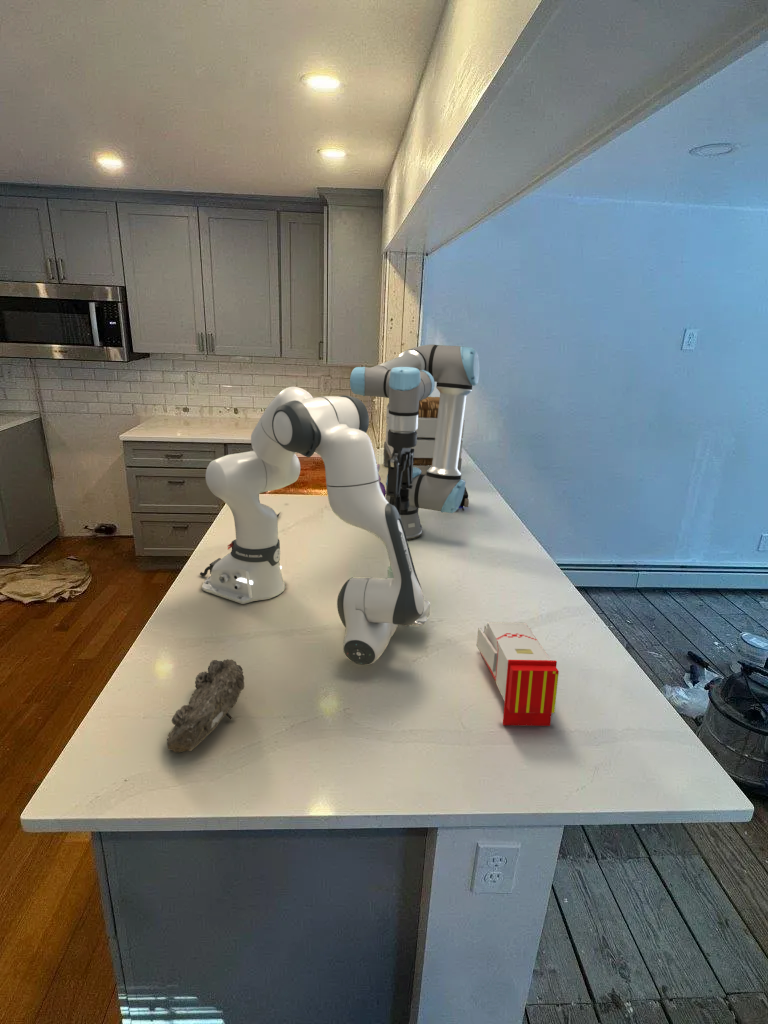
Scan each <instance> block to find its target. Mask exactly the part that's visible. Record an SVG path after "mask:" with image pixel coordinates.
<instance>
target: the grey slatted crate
mask: <svg viewBox="0 0 768 1024" xmlns="http://www.w3.org/2000/svg"><path fill="white" fill-rule="evenodd" d="M439 399H440V396H428V397H427V398H426V399H423V400H421V401H419V409H418V429H417V430H415V431H416V432H417V444H416V446H415V447H412V449H414V457H413V467H417V466H418V467H431V466H432V461H433V452H434V443H435V434H436V426H437V417H438V408H439ZM385 414H386V415H385V423H386V428H385V438H384V442H383V466H384V467H387V468H388V459H392V453H393V447H392V446H389V445H388V443H387V441H388V431H389V430H390V429H389V428H388V419H387V416H388V415H389V402H388V404H387V405H386V413H385ZM464 429H465V419H464V420H463V428H462V436H461V444H460V452H459V460H458V470H459V471H460V473H461V472H462V461H463V460H462V453H463V442H464V441H463V440H462V439H463V438H464V431H465V430H464ZM461 474H462V473H461Z"/></svg>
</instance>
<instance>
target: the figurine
mask: <svg viewBox="0 0 768 1024" xmlns="http://www.w3.org/2000/svg"><path fill="white" fill-rule="evenodd" d="M377 468H378V475H379V484H380V488H381V491H382V493H383V495H384V497H385V498H386V486H385V485H384V484H383V482H382V481H381V480H382V479H381V475H380V473H379V471H380V469H381V465H380V464H379V463H378V464H377Z"/></svg>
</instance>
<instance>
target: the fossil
mask: <svg viewBox="0 0 768 1024" xmlns="http://www.w3.org/2000/svg"><path fill="white" fill-rule="evenodd" d="M243 670H244V669H243V667H242V665H240V664H237V662H236V661H235V660H234V659H232V658H231V659H227V658H226V659H224V660H223V661H222V660H217V659H212V660H211V661H210V663H209V665H208V666H207V671H201V672H199V673H198V674H197V675H196V676H195V680H194V684H195V685H194V687H195V689H194V690H193V693H192V694H191V697H190V698H189V700H188V704H184V705H182V706H181V707H180V709H177V710H176V711H175V713H174V715H173V716H172V718H171V723H172V724H173V727H172V730H171V731H170V732H168V734H167V738H166V741H167V742H166V745H167V749H168V750H169V751H173V752H174V753H176V754H178V753H182V752H188V751H189V752H192V751H193V750H195V748H196V747H197V746H199V744H200V743H201V742H203V741H204V740H205V739H206V738H207V737H208V736H209V735H210V734H211V733H212V732H214V730H215V729H217V727H218V726H219V724H220V722H221V721H222V720H223V719H224V718H225V716H226V717H227V719H229V720H233V717H232V715H230V714H229V710H230V709H231V708H234V706H235V704H236V703H237V702H238V699H239V697H240V695H241V693H242V691H243V690H245V689H244V688H245V675H244V671H243Z"/></svg>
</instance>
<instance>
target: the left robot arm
mask: <svg viewBox="0 0 768 1024" xmlns="http://www.w3.org/2000/svg"><path fill="white" fill-rule="evenodd" d="M369 425H370V417H369V411H368V409H367V406H366V404H365V403H364V402H363V401H362V400H360V399H359V398H358V397H356V396H355V397H354V396H351V395H346V394H345V395H338V396H336V395H325V396H324V395H323V396H316V397H313V395H312V394H311V393H310V392H309V391H308V390H306V389H304V388H302V387H298V386H289V387H285V388H283V389H282V390H281V391H280V392H279V393H278V394H276V395H275V397H274V398H273V399H272V400H271V401H270V403H269V404H268V406H267V407H266V408H265V410H264V412H262V415H261V416H260V417H259V419H258V421H257V423H256V425H255V427H254V428H253V430H252V432H251V435H250V444H251V448H252V450H250V451H244V452H237V453H231V454H226V455H223V456H221V457H218V458H215V459H214V460H211V461H210V462H209V464H208V465H207V467H206V470H205V484H206V486H207V488H208V490H209V491H210V492H211V494H212V495H214V496H215V497H216V498H218V499H220V500H221V501H223V502H224V503H225V504H226V505H227V507H228V508H229V509H230V511H231V513H232V517H233V521H234V531H235V539H233V540H232V541H230V543H229V544H228V545H227V550H230V549H231V551H230V552H229V553H228V554H226V555H225V556H223V557H218V558H217V559H214V561H212V562H210V563H209V564H208V566H207V567H205V569H204V571H203V572H202V571H201V572H200V573H199V576H202V577H205V576H207V574H208V572H209V576H208V577H207V578H206V579H205V580H204V581H203V583H202V586H201V587H202V588H201V589H202V591H203V592H206V593H208V594H212V595H215V596H217V597H221V598H223V599H226V600H229V601H232V602H234V603H238V604H241V605H246V604H250V603H253V602H257V601H264V600H265V601H266V600H270V599H273V598H275V597H277V596H279V595H281V594H282V593H283V592H284V591H285V590H286V584H285V582H284V579H283V574H282V568H283V566H282V565H281V564H280V563H281V562H280V560H281V543H280V539H279V522H278V520H279V519H278V517H279V516H278V517H277V515H278V514H277V512H276V511H275V510H274V509H273V508H272V507H270V506H269V505H266V504H264V503H261V500H260V494H262V493H266V492H271V491H276V490H280V489H281V490H282V489H284V488H285V487H287V486H290V485H292V484H294V483H295V482H297V481H298V480H299V477H300V475H301V462H300V459H299V457H298V455H297V454H299V455H302V456H303V457H306V458H310V457H312V456H313V455H314V454H315V453H316V454H317V455H319V456H320V458H321V460H322V461H323V464H324V473H325V484H326V495H327V499H328V503H329V507H330V509H331V511H332V513H333V514H334V515H335V516H336V517H337V518H338V519H340V520H341V521H343V522H344V523H346V524H347V525H350V526H352V527H356V528H358V529H361V530H363V531H365V532H368V533H370V534H372V535H374V536H376V538H378V539H379V540H380V541H381V542H382V543H383V544H384V547H385V549H386V554H387V557H388V560H389V566H390V565H391V569H392V572H393V576H394V578H387V577H371V576H370V577H366V576H364V577H363V576H360V577H359V576H357V577H350V578H349V579H347V580H346V581H345V582H344V583H343V586H341V589H340V590H339V592H338V595H337V600H336V608H337V614H338V617H339V619H340V621H341V623H342V625H343V627H344V628H345V635H344V639H343V644H342V650H343V653H344V655H345V657H346V658H347V659H348V660H349V661H350V662H352V663H354V664H357V665H362V666H365V665H366V666H369V665H371V664H374V663H375V662H376V661H378V659H379V658H380V657H381V656H382V654H383V653H384V652H385V650H386V649H387V647H388V645H389V643H390V641H391V638H392V637H393V635H394V634H395V632H396V630H397V628H398V627H399V626H405V627H409V626H413V627H420V626H422V625H425V624H426V623H427V620H428V618H429V617H430V614H431V605H432V604H431V602H430V601H429V600H427V599H425V596H424V592H423V588H422V585H421V583H420V580H419V578H418V574H417V572H416V569H415V565H414V562H413V558H412V557H413V556H412V554H411V550H410V546H409V543H408V540H407V538H406V534H405V531H404V527H403V524H402V521H401V518H400V515H399V513H398V511H397V509H396V507H395V506H393V505H391V504H390V503H389V502H388V501H387V500H386V496H385V497H384V495H383V493H382V491H381V488H380V484H379V475H380V474H379V475H378V473H379V472H378V468H377V465H378V464H377V463H378V462H377V458H376V453H375V450H374V446H373V443H372V439H371V437H370V436H369V434H368V433H367V432H368V429H369Z"/></svg>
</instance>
